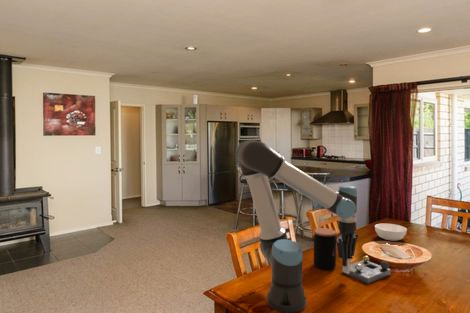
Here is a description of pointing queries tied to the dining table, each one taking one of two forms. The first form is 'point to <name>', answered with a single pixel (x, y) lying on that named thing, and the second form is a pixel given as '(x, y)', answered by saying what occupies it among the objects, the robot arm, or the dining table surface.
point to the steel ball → (358, 267)
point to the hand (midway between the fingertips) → (346, 272)
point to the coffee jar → (324, 249)
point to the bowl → (390, 231)
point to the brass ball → (366, 258)
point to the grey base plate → (368, 272)
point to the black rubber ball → (384, 264)
